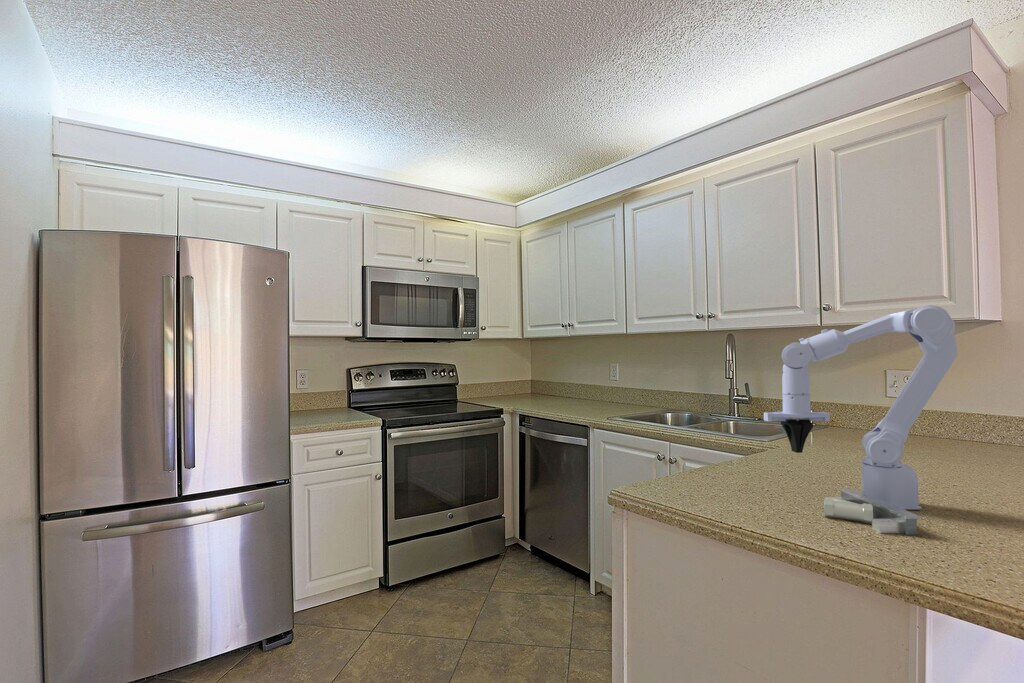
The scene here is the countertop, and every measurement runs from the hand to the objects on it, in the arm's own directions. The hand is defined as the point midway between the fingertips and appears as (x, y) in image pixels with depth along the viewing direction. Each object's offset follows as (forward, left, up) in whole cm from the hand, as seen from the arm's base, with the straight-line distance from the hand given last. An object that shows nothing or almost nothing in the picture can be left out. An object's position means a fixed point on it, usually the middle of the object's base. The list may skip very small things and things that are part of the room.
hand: (797, 451), depth 117 cm
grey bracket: (-4, +17, -10) cm, 20 cm away
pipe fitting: (-1, +16, -10) cm, 19 cm away
